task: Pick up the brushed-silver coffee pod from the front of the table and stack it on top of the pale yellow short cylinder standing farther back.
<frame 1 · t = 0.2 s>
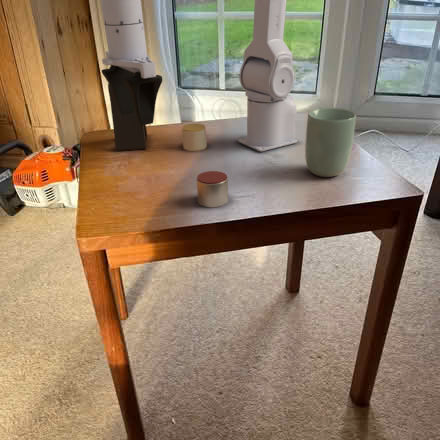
hand: (136, 118, 74), 10 cm above the table, tool pointing down, fingers open, 7 cm apart
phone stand: (132, 144, 95), on the table
pale yellow short cylinder: (195, 147, 92), on the table
cup: (325, 173, 79), on the table
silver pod: (213, 200, 71), on the table
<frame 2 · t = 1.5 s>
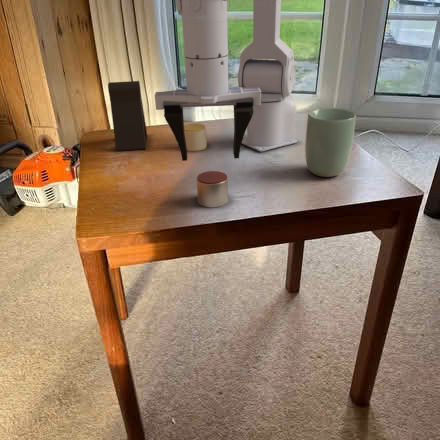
hand: (210, 157, 67), 7 cm above the table, tool pointing down, fingers open, 7 cm apart
nothing on the table moved.
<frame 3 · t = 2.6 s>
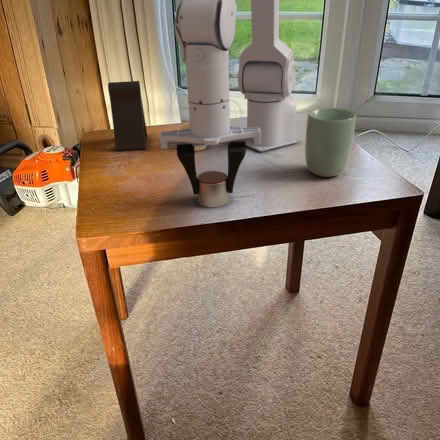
hand: (212, 191, 71), 2 cm above the table, tool pointing down, fingers closed on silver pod, 5 cm apart
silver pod: (213, 200, 71), on the table, touching gripper
everything else where it was.
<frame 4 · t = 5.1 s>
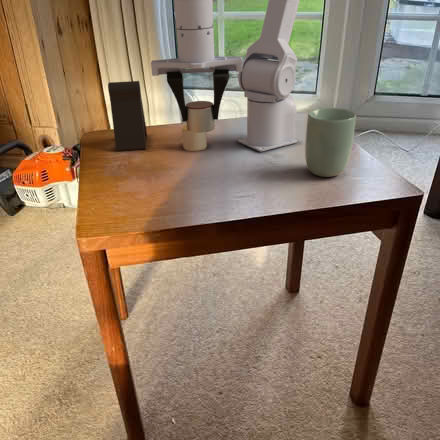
hand: (200, 119, 77), 9 cm above the table, tool pointing down, fingers closed on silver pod, 5 cm apart
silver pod: (200, 128, 78), point 7 cm above the table, touching gripper
everything else where it was.
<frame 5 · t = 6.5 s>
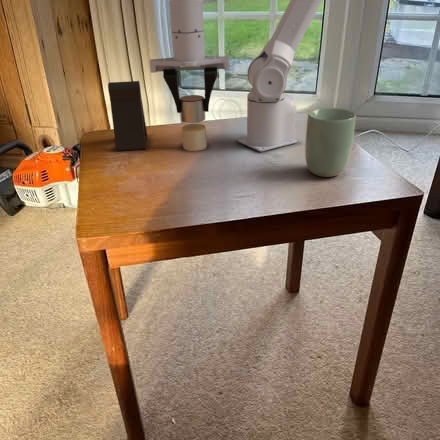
hand: (192, 111, 88), 7 cm above the table, tool pointing down, fingers closed on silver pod, 5 cm apart
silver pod: (193, 119, 89), point 5 cm above the table, touching gripper
everything else where it was.
when the fingers open (6 cm above the table, at t = 7.5 s): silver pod stays where it is, resting on pale yellow short cylinder.
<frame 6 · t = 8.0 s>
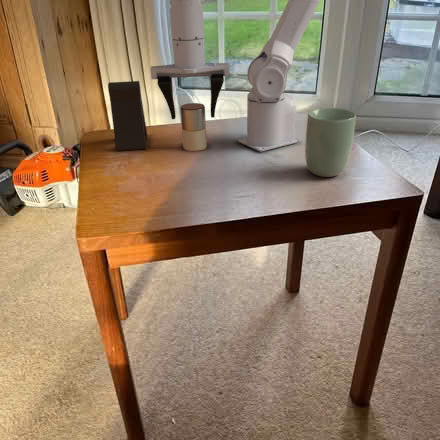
hand: (193, 117, 89), 6 cm above the table, tool pointing down, fingers open, 7 cm apart
pale yellow short cylinder: (195, 147, 92), on the table, touching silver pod
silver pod: (193, 127, 90), point 4 cm above the table, touching pale yellow short cylinder
everything else where it was.
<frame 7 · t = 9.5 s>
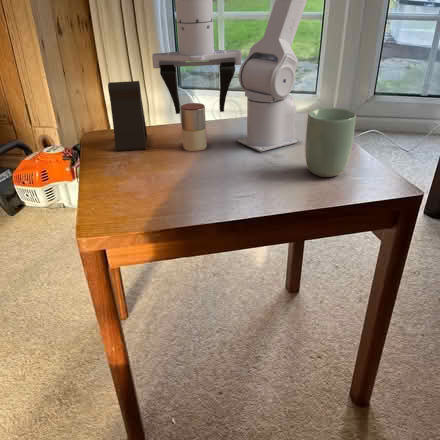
hand: (199, 111, 79), 9 cm above the table, tool pointing down, fingers open, 7 cm apart
nothing on the table moved.
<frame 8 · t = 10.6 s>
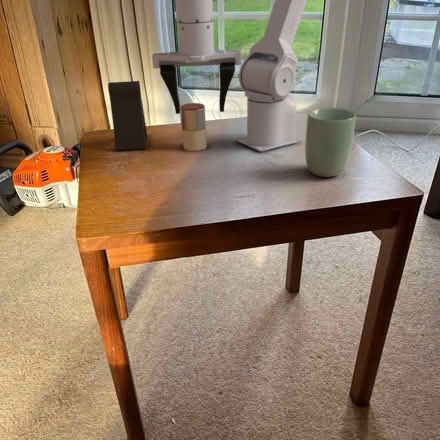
hand: (199, 111, 79), 9 cm above the table, tool pointing down, fingers open, 7 cm apart
nothing on the table moved.
at the end: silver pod 0.0 cm off-centre on the pale yellow short cylinder, point 4.0 cm above the pale yellow short cylinder's base; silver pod tilted 0°; pale yellow short cylinder tilted 0° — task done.
